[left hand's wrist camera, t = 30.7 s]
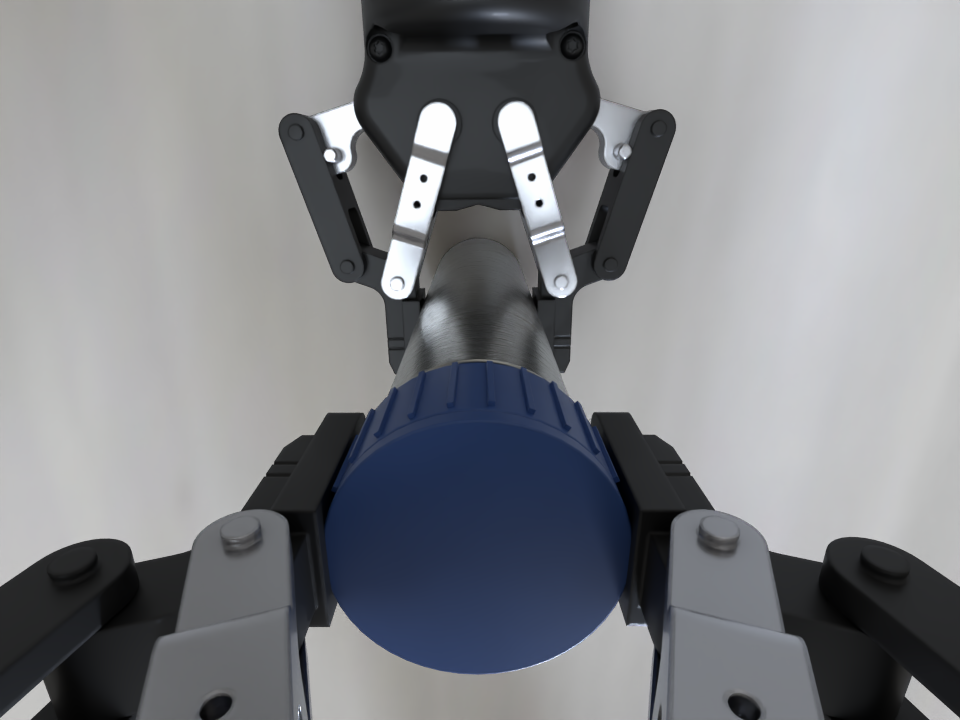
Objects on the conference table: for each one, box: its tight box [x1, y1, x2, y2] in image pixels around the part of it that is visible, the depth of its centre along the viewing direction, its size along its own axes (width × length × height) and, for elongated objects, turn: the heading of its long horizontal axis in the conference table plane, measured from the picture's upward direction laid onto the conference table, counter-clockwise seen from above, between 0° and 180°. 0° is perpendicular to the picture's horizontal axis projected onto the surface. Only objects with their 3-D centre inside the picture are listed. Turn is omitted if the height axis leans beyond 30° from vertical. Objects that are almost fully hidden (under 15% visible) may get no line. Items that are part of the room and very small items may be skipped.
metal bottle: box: [389, 238, 569, 397], centre depth 19 cm, size 4×4×20 cm
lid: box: [324, 361, 632, 674], centre depth 10 cm, size 5×5×2 cm
